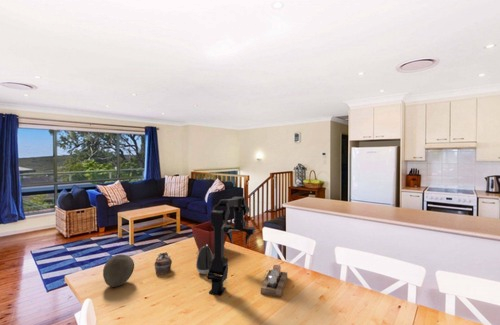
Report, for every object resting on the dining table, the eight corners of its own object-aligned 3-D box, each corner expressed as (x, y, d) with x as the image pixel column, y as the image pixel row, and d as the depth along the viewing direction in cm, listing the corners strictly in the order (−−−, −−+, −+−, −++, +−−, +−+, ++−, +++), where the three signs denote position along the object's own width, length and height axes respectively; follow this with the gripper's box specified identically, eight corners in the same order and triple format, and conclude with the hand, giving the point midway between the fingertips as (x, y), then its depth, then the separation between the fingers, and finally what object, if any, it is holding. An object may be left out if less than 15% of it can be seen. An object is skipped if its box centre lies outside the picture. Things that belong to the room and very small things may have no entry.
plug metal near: (275, 288, 119) (275, 278, 119) (267, 286, 120) (267, 277, 120) (277, 284, 123) (277, 274, 123) (269, 282, 124) (269, 273, 124)
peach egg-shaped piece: (279, 277, 130) (279, 268, 129) (272, 276, 131) (272, 267, 131) (281, 273, 133) (281, 265, 133) (273, 272, 135) (273, 264, 134)
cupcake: (152, 270, 144) (151, 253, 144) (168, 265, 150) (168, 249, 149) (157, 276, 136) (157, 259, 136) (174, 271, 142) (174, 254, 142)
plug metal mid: (277, 282, 124) (277, 273, 124) (270, 281, 126) (270, 272, 125) (279, 278, 128) (279, 269, 128) (271, 277, 129) (271, 268, 129)
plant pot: (210, 257, 161) (210, 232, 161) (191, 250, 173) (190, 226, 172) (229, 248, 177) (229, 225, 176) (211, 242, 188) (210, 220, 187)
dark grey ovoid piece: (216, 268, 146) (216, 242, 146) (211, 276, 136) (211, 249, 135) (199, 267, 147) (199, 242, 147) (193, 276, 137) (193, 249, 136)
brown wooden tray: (281, 297, 116) (281, 291, 116) (260, 293, 119) (260, 287, 119) (287, 277, 135) (287, 272, 134) (269, 275, 138) (269, 269, 137)
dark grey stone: (121, 293, 120) (120, 263, 120) (96, 290, 123) (95, 260, 123) (139, 278, 134) (139, 251, 134) (117, 276, 137) (116, 249, 137)
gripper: (257, 215, 151) (257, 240, 152) (229, 213, 156) (229, 238, 157) (252, 220, 140) (252, 247, 141) (222, 218, 146) (222, 244, 146)
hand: (239, 243), depth 147 cm, fingers open, 9 cm apart
